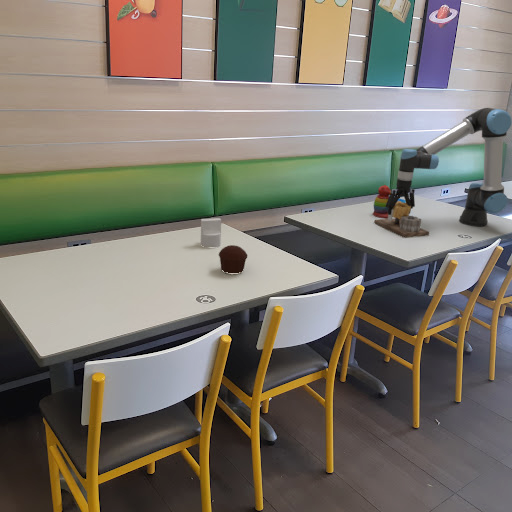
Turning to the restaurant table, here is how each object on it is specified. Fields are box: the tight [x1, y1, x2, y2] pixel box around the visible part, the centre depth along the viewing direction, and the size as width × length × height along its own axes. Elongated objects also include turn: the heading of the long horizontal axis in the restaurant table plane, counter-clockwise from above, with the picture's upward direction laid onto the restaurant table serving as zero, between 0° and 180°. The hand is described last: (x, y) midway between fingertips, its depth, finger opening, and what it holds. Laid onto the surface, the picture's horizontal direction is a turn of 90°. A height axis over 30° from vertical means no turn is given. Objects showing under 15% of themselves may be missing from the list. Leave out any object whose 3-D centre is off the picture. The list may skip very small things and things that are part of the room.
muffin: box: [218, 244, 248, 273], centre depth 202 cm, size 12×11×10 cm
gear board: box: [373, 215, 430, 238], centre depth 271 cm, size 16×26×9 cm, turn 22°
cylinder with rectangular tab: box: [200, 217, 222, 248], centre depth 229 cm, size 9×9×12 cm
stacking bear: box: [372, 184, 391, 219], centre depth 294 cm, size 11×10×18 cm
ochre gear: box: [392, 201, 412, 220], centre depth 271 cm, size 10×10×6 cm
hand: (397, 220), depth 273 cm, fingers closed on ochre gear, 10 cm apart
